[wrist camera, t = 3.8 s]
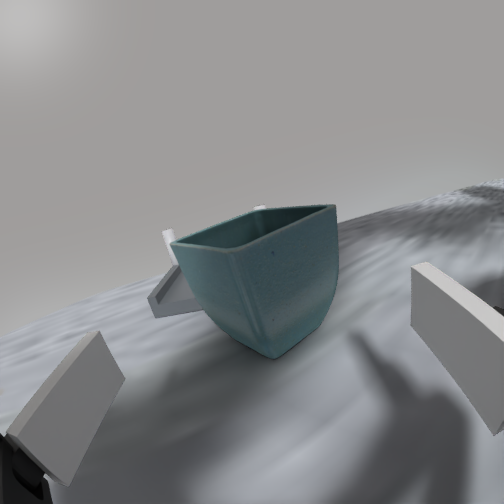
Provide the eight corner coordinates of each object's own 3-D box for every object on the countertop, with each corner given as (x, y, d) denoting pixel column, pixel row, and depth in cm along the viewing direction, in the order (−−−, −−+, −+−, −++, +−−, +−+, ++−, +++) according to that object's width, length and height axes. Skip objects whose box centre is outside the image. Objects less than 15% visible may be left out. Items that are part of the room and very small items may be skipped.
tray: (277, 256, 40) (264, 203, 37) (284, 292, 28) (268, 219, 26) (179, 278, 41) (163, 229, 39) (153, 318, 29) (128, 255, 27)
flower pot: (202, 343, 23) (166, 241, 20) (279, 298, 27) (257, 207, 25) (270, 390, 16) (229, 251, 13) (354, 319, 20) (339, 203, 18)
